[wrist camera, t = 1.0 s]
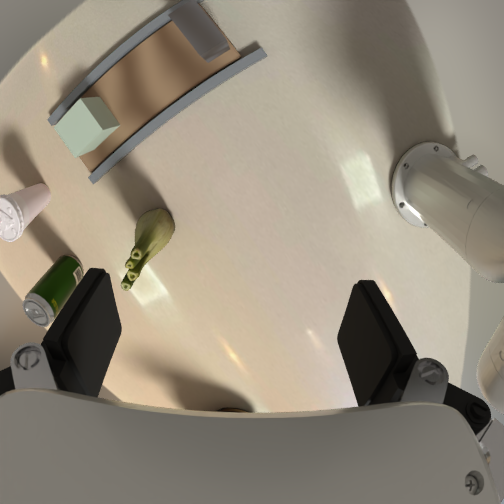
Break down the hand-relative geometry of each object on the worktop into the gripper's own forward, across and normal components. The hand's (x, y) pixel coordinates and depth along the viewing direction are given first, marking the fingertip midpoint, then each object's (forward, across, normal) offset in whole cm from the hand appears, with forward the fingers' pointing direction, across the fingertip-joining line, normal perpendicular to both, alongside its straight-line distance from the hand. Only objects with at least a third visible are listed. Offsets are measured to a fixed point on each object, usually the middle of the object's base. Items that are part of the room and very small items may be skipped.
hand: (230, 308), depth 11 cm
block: (+28, +18, -5) cm, 33 cm away
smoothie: (+29, +30, +5) cm, 42 cm away
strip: (+28, +13, -9) cm, 32 cm away
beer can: (+29, +26, +18) cm, 43 cm away
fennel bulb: (+28, +10, +9) cm, 31 cm away
